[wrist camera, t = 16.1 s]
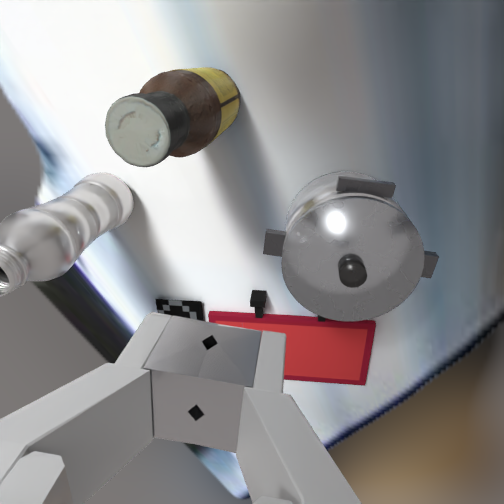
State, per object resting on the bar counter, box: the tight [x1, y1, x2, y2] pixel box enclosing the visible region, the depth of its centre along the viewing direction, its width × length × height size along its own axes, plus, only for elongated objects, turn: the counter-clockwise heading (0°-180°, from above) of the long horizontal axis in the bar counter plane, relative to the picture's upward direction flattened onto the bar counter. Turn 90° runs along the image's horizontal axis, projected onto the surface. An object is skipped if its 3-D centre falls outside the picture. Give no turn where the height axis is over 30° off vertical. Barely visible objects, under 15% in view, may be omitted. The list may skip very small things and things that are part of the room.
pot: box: [263, 171, 439, 278], centre depth 38 cm, size 14×17×8 cm
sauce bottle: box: [105, 68, 240, 167], centre depth 29 cm, size 6×6×20 cm
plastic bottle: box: [0, 173, 134, 296], centre depth 35 cm, size 6×7×20 cm
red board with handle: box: [156, 290, 376, 385], centre depth 50 cm, size 30×3×15 cm
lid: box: [281, 196, 425, 321], centre depth 33 cm, size 13×13×3 cm
